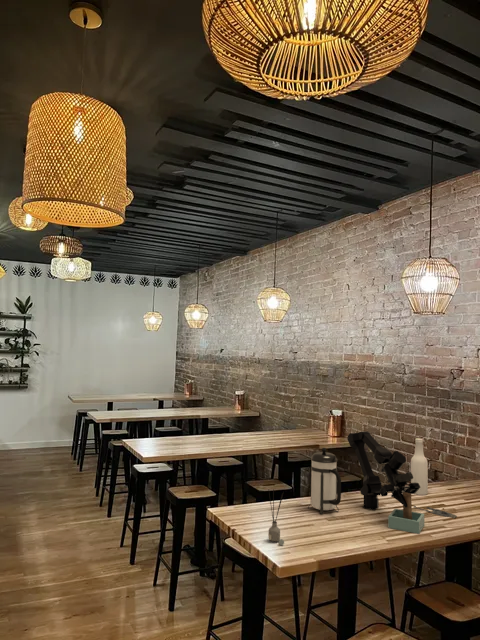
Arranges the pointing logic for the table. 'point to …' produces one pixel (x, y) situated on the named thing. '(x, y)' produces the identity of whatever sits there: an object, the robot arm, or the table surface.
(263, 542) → the table surface
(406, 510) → the brown tower block
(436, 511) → the driftwood
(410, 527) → the green square tray
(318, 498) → the coffee press
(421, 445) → the alcohol
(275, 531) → the reed diffuser
